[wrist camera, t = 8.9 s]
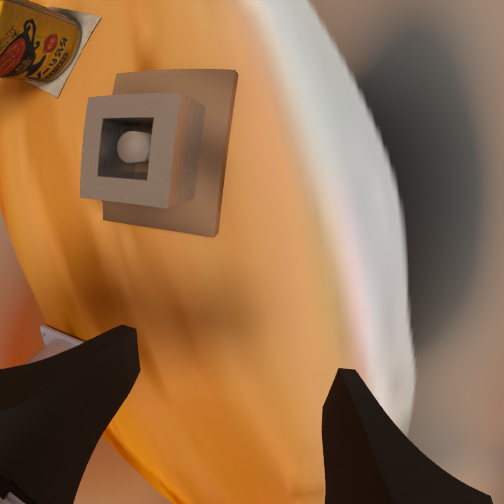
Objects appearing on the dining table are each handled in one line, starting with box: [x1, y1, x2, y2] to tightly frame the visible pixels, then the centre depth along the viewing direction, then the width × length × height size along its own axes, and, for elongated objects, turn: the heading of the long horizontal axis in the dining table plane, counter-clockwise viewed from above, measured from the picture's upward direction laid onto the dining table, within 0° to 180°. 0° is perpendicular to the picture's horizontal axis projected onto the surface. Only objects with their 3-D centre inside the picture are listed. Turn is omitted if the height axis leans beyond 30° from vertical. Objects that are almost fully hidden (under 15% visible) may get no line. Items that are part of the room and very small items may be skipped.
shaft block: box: [103, 69, 238, 237], centre depth 15 cm, size 10×8×4 cm
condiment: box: [0, 0, 101, 98], centre depth 10 cm, size 7×8×12 cm
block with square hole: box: [80, 93, 206, 209], centre depth 15 cm, size 5×5×4 cm
